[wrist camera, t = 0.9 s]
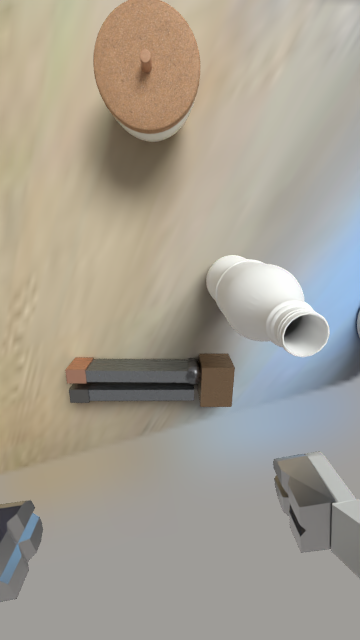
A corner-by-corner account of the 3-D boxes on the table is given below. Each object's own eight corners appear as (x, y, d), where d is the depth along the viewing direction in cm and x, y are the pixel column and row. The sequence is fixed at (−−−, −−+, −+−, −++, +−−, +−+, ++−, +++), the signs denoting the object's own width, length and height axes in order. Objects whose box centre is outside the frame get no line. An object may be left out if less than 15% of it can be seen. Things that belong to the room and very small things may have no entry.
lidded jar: (99, 69, 31) (69, 1, 22) (182, 41, 31) (185, -41, 22) (127, 164, 35) (110, 137, 26) (203, 140, 34) (213, 105, 25)
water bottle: (248, 299, 41) (351, 385, 17) (203, 300, 41) (244, 386, 17) (251, 253, 38) (376, 276, 15) (204, 254, 38) (252, 278, 15)
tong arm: (199, 357, 43) (202, 370, 39) (199, 371, 44) (201, 384, 40) (75, 356, 43) (65, 369, 39) (77, 370, 44) (67, 383, 40)
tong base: (228, 353, 43) (234, 367, 39) (225, 389, 46) (231, 406, 41) (75, 353, 43) (63, 367, 38) (80, 389, 45) (68, 407, 40)
